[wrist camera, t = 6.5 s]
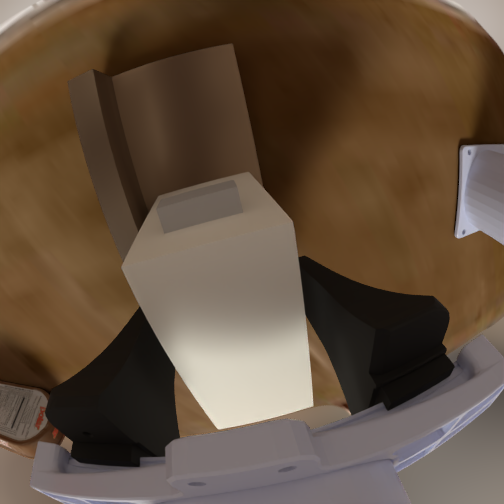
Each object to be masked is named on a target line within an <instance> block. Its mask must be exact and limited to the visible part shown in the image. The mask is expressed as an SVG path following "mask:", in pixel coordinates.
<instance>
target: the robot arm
mask: <svg viewBox="0 0 504 504" xmlns="http://www.w3.org/2000/svg"><path fill="white" fill-rule="evenodd" d="M479 230H481V231H482V232H484V233H486V234H487V235H489V236H490V237H492V238H494V239H495V240H497V241H498V242H500V243H501V244H503V245H504V144H481V145H462V146H461V147H460V172H459V195H458V208H457V218H456V227H455V236H456V237H457V238H462V237H464V236H467V235H469V234H472V233H474V232H476V231H479ZM298 260H299V267H300V275H301V283H302V291H303V300H304V308H305V315H306V316H307V318H308V320H309V322H310V323H311V325H312V327H313V328H314V330H315V332H316V334H317V335H318V337H319V339H320V340H321V342H322V344H323V346H324V347H325V349H326V351H327V353H328V356H329V358H330V360H331V363H332V365H333V367H334V370H335V372H336V375H337V377H338V380H339V382H340V385H341V387H342V390H343V393H344V395H345V398H346V401H347V404H348V407H349V410H350V413H351V416H349V417H347V418H344V419H341V420H338V421H336V422H333V423H330V424H327V425H324V426H321V427H318V428H315V429H312V430H310V427H309V426H308V425H307V424H306V423H305V422H304V421H301V420H294V419H282V420H276V421H268V422H265V423H260V424H256V425H251V426H247V427H242V428H237V429H232V430H226V431H220V432H214V433H208V434H201V435H193V436H187V437H183V438H180V435H179V429H178V423H177V415H176V406H175V395H174V379H175V366H174V365H173V363H172V362H171V360H170V358H169V357H168V355H167V353H166V352H165V350H164V348H163V347H162V345H161V343H160V342H159V340H158V338H157V336H156V335H155V333H154V331H153V329H152V327H151V326H150V324H149V322H148V320H147V318H146V316H145V315H144V313H143V311H142V309H141V307H139V308H138V310H137V311H136V312H135V314H134V315H133V316H132V318H131V319H130V320H129V322H128V323H127V324H126V326H125V327H124V328H123V329H122V331H121V332H120V333H119V334H118V336H117V337H116V338H115V339H114V340H113V341H112V343H111V344H110V345H109V346H108V347H107V348H106V349H105V350H104V351H103V352H102V353H101V354H100V355H99V356H98V357H96V358H95V359H94V360H93V361H92V362H91V363H90V364H89V365H87V366H86V367H85V368H84V369H82V370H81V371H80V372H78V373H77V374H76V375H74V376H73V377H71V378H70V379H68V380H67V381H65V382H63V383H62V384H60V385H58V386H57V387H55V388H53V389H52V390H51V393H50V396H49V399H48V403H47V406H46V409H45V416H46V418H47V419H48V421H49V422H50V423H51V424H52V425H53V426H54V427H55V428H56V429H58V430H59V431H60V432H61V433H62V434H64V435H65V436H66V437H68V438H69V439H70V440H71V441H73V445H72V450H71V453H69V452H68V451H67V450H66V449H64V448H63V447H61V446H60V445H57V444H54V443H48V442H42V441H39V442H38V445H37V449H36V454H35V458H34V464H33V469H32V474H31V480H30V486H31V487H32V488H34V489H36V490H38V491H40V492H41V493H43V494H45V495H47V496H49V497H51V498H54V499H56V500H58V501H60V502H62V503H64V504H411V502H410V500H409V498H408V496H407V493H406V492H405V489H404V487H403V485H402V483H401V481H400V479H399V476H398V474H397V472H399V471H400V470H402V469H404V468H406V467H407V466H409V465H411V464H412V463H414V462H416V461H417V460H419V459H421V458H422V457H424V456H425V455H427V454H428V453H430V452H431V451H433V450H434V449H436V448H437V447H439V446H440V445H441V444H443V443H444V442H445V441H447V440H448V439H450V438H451V437H452V436H454V435H455V434H456V433H457V432H459V431H460V430H461V429H463V428H464V427H465V426H466V425H468V424H469V423H470V422H472V421H473V420H474V419H475V418H476V417H477V416H479V415H480V414H481V413H482V412H484V411H485V410H486V409H487V408H488V407H489V406H490V405H491V404H492V402H494V400H495V399H496V398H497V397H498V395H499V394H500V393H501V391H502V390H503V389H504V357H503V356H502V355H501V354H500V353H499V351H497V349H496V348H495V347H494V346H493V345H492V344H491V343H490V342H489V340H488V339H487V338H486V337H485V336H484V335H479V336H478V337H477V338H475V339H474V340H473V341H471V342H470V343H468V344H467V345H466V346H465V347H463V349H462V350H461V351H460V353H459V355H458V357H457V361H456V362H454V363H452V362H451V361H450V359H449V358H448V357H447V356H446V354H445V353H446V351H447V350H446V347H445V346H444V345H443V344H442V341H443V339H444V336H445V333H446V330H447V328H448V324H449V312H448V310H447V309H446V308H445V307H444V306H443V305H442V304H441V303H440V302H439V301H438V300H437V299H436V298H435V297H434V296H423V295H409V294H402V293H395V292H390V291H385V290H381V289H377V288H374V287H370V286H367V285H364V284H361V283H358V282H356V281H353V280H351V279H348V278H346V277H344V276H342V275H340V274H338V273H335V272H334V271H332V270H330V269H328V268H326V267H324V266H322V265H321V264H319V263H317V262H315V261H314V260H312V259H310V258H308V257H306V256H302V257H298Z"/></svg>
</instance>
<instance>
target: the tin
mask: <svg viewBox="0 0 504 504" xmlns="http://www.w3.org/2000/svg"><path fill="white" fill-rule="evenodd" d="M49 396H50V395H49V394H48V393H47V392H46V391H44V390H42V389H40V388H36V387H31V386H25V385H19V384H14V383H9V382H5V381H0V447H2V448H4V449H6V450H9V451H11V452H14V453H16V454H18V455H21V456H23V457H26V458H29V459H34V458H35V454H36V449H37V445H38V442H39V441H42V442H48V443H54V444H57V445H61V443H62V441H63V439H64V437H65V435H64V434H62V433H61V432H60V431H59V430H58V429H56V428H55V427H54V426H53V425H52V424H51V423H50V422H49V421H48V419H47V418H46V416H45V409H46V406H47V403H48V399H49Z"/></svg>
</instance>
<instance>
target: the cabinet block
mask: <svg viewBox="0 0 504 504" xmlns="http://www.w3.org/2000/svg"><path fill="white" fill-rule="evenodd" d="M121 268H122V270H123V272H124V275H125V277H126V279H127V281H128V283H129V285H130V287H131V289H132V291H133V293H134V295H135V297H136V299H137V301H138V303H139V305H140V307H141V309H142V311H143V313H144V315H145V316H146V318H147V320H148V322H149V324H150V326H151V327H152V329H153V331H154V333H155V335H156V336H157V338H158V340H159V342H160V343H161V345H162V347H163V348H164V350H165V352H166V353H167V355H168V357H169V358H170V360H171V362H172V363H173V365H174V366H175V368H176V370H177V371H178V373H179V374H180V376H181V377H182V379H183V381H184V382H185V384H186V385H187V387H188V388H189V390H190V391H191V393H192V394H193V395H194V397H195V398H196V400H197V401H198V403H199V404H200V406H201V407H202V408H203V410H204V411H205V413H206V414H207V415H208V417H209V418H210V419H211V421H212V422H213V423H214V425H215V426H216V427H217V429H223V428H229V427H234V426H239V425H244V424H249V423H253V422H257V421H262V420H266V419H270V418H274V417H278V416H281V415H285V414H288V413H292V412H295V411H299V410H302V409H305V408H308V407H312V406H313V394H312V381H311V369H310V357H309V347H308V336H307V327H306V317H305V308H304V300H303V291H302V283H301V275H300V267H299V260H298V253H297V245H296V238H295V231H294V225H293V221H292V220H291V219H290V218H289V216H288V215H287V214H286V213H285V212H284V211H283V209H282V208H281V207H280V206H279V205H278V204H277V203H276V202H275V200H274V199H273V198H272V197H271V196H270V195H269V194H268V192H267V191H266V190H265V189H264V188H263V187H262V186H261V185H260V184H259V182H258V181H257V180H256V179H255V178H254V177H253V176H252V175H251V174H250V173H249V172H245V173H241V174H237V175H233V176H229V177H225V178H221V179H217V180H213V181H209V182H205V183H201V184H198V185H194V186H191V187H187V188H184V189H180V190H177V191H173V192H170V193H166V194H163V195H160V196H158V198H157V199H156V201H155V203H154V205H153V206H152V208H151V210H150V212H149V214H148V215H147V217H146V219H145V221H144V223H143V225H142V227H141V228H140V230H139V232H138V234H137V236H136V238H135V240H134V242H133V244H132V246H131V248H130V250H129V252H128V254H127V256H126V258H125V260H124V262H123V265H122V267H121Z"/></svg>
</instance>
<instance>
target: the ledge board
mask: <svg viewBox="0 0 504 504" xmlns="http://www.w3.org/2000/svg"><path fill="white" fill-rule="evenodd" d="M68 87H69V93H70V98H71V103H72V108H73V112H74V117H75V121H76V125H77V129H78V133H79V137H80V141H81V145H82V149H83V152H84V156H85V159H86V163H87V166H88V169H89V172H90V176H91V179H92V182H93V185H94V188H95V191H96V194H97V197H98V200H99V202H100V205H101V208H102V211H103V214H104V216H105V219H106V221H107V224H108V227H109V229H110V232H111V234H112V237H113V239H114V242H115V244H116V246H117V249H118V251H119V254H120V256H121V258H122V260H123V262H124V260H125V258H126V256H127V254H128V252H129V250H130V248H131V246H132V244H133V242H134V240H135V238H136V236H137V234H138V232H139V230H140V228H141V227H142V225H143V223H144V221H145V219H146V217H147V215H148V214H149V212H150V210H151V208H152V206H153V205H154V203H155V201H156V199H157V198H158V196H160V195H163V194H166V193H170V192H173V191H177V190H180V189H184V188H187V187H191V186H194V185H198V184H201V183H205V182H209V181H213V180H217V179H221V178H225V177H229V176H233V175H237V174H241V173H245V172H249V173H250V174H251V175H252V176H253V177H254V178H255V179H256V180H257V181H258V182H259V184H260V185H261V186H262V187H263V183H262V178H261V173H260V168H259V163H258V158H257V153H256V148H255V143H254V138H253V134H252V129H251V124H250V119H249V115H248V110H247V105H246V101H245V96H244V92H243V87H242V83H241V78H240V74H239V69H238V65H237V61H236V56H235V52H234V48H233V43H232V44H226V45H220V46H215V47H210V48H205V49H200V50H196V51H192V52H188V53H184V54H180V55H176V56H172V57H169V58H165V59H162V60H159V61H155V62H152V63H149V64H146V65H143V66H140V67H137V68H134V69H132V70H129V71H126V72H124V73H121V74H118V75H116V76H113V77H110V76H108V75H106V74H103V73H101V72H99V71H96V70H94V69H92V70H90V71H87V72H85V73H83V74H81V75H79V76H77V77H75V78H73V79H71V80H69V81H68Z"/></svg>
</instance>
